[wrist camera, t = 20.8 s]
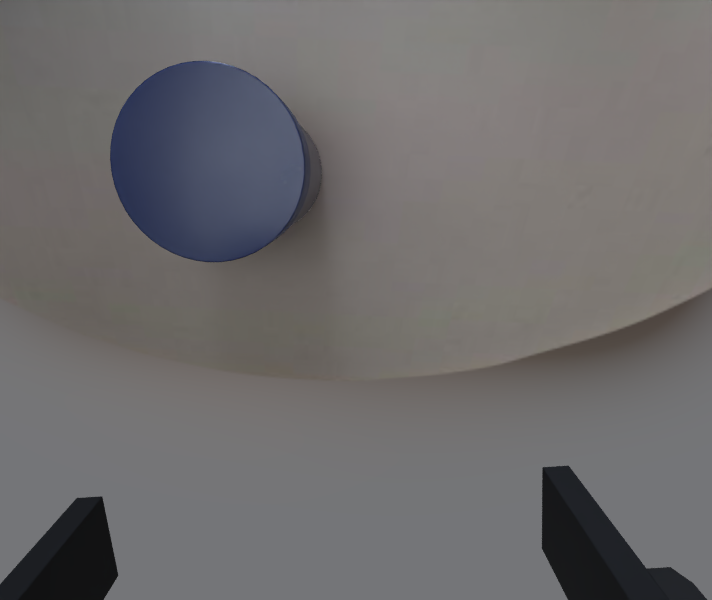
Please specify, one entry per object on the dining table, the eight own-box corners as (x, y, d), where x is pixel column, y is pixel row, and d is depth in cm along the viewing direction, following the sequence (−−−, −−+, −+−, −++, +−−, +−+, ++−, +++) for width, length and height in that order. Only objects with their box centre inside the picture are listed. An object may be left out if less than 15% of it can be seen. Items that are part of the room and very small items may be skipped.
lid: (150, 260, 27) (126, 269, 24) (121, 82, 25) (91, 68, 22) (318, 247, 27) (313, 255, 24) (302, 67, 25) (295, 52, 22)
